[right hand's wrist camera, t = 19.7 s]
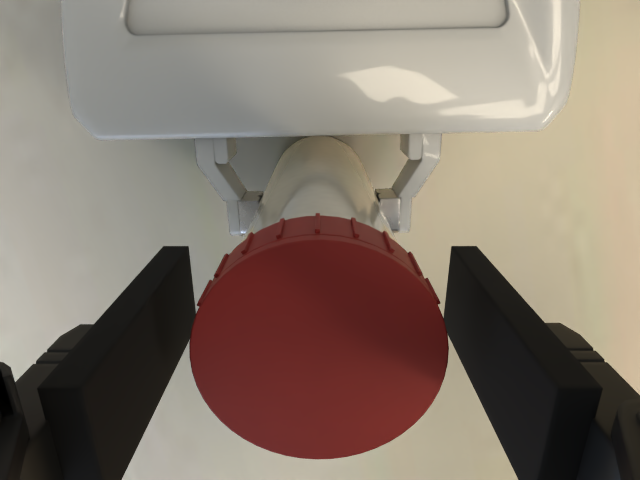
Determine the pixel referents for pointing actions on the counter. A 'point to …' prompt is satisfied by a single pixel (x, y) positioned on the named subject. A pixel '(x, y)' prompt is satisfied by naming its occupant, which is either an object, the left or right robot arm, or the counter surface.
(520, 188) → the counter surface
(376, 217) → the jar
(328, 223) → the lid
